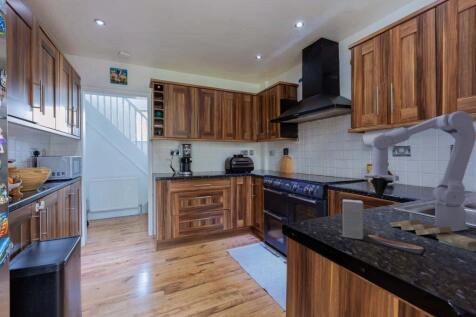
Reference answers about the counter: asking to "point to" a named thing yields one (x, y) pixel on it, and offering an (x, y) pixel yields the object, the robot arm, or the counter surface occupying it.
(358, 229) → the skincare box
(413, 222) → the domino
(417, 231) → the domino
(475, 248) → the domino
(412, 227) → the domino
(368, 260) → the counter surface
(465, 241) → the domino
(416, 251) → the brown flat slab
